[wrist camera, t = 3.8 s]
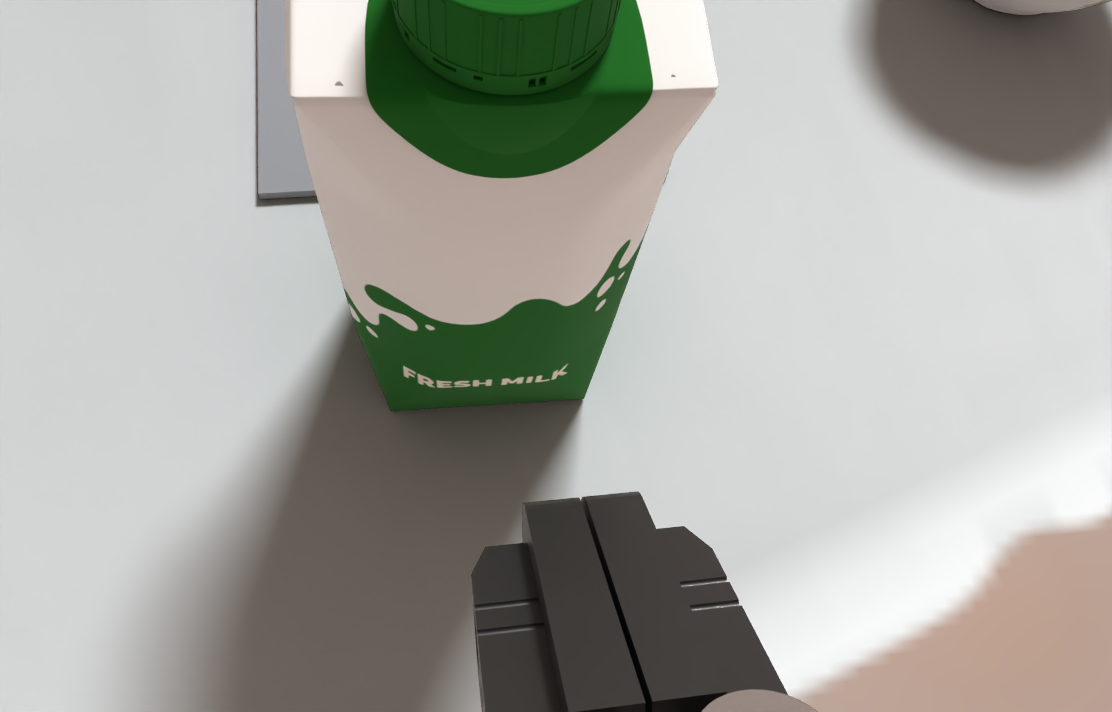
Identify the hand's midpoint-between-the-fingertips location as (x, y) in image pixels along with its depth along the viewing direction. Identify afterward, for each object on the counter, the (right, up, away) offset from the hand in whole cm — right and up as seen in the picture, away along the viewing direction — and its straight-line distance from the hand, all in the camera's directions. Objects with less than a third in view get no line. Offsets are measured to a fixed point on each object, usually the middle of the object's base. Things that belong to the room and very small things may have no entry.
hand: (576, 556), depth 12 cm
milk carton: (-3, +4, +22) cm, 23 cm away
